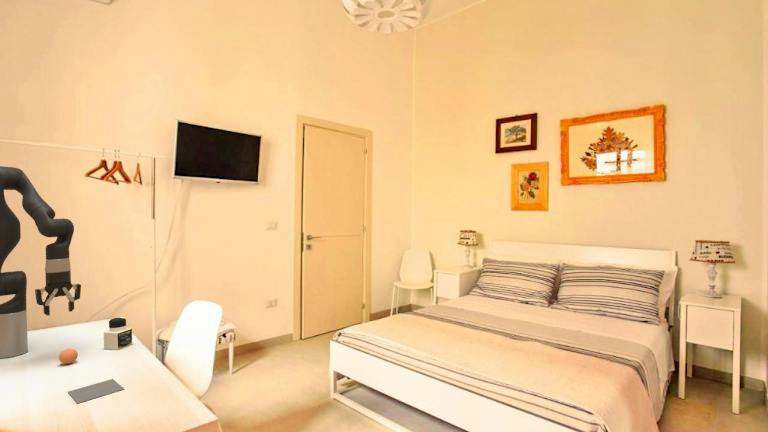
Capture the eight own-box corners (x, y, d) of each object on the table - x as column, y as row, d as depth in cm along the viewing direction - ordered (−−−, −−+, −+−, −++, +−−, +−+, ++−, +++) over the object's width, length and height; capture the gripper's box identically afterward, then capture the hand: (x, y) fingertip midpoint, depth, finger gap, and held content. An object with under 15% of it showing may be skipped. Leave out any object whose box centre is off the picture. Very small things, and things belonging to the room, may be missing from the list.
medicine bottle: (118, 350, 161) (117, 320, 161) (103, 349, 163) (102, 320, 163) (132, 344, 168) (131, 316, 168) (118, 343, 170) (117, 315, 170)
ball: (55, 365, 146) (55, 350, 146) (72, 359, 151) (72, 345, 151) (64, 367, 144) (63, 352, 144) (81, 361, 149) (80, 347, 149)
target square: (67, 392, 123) (67, 391, 123) (112, 379, 132) (112, 378, 132) (77, 403, 116) (77, 403, 116) (124, 389, 125) (124, 388, 125)
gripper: (36, 273, 145) (38, 319, 145) (83, 268, 156) (85, 310, 157) (31, 272, 149) (32, 316, 150) (77, 267, 161) (78, 308, 161)
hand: (59, 313), depth 153 cm, fingers open, 6 cm apart
